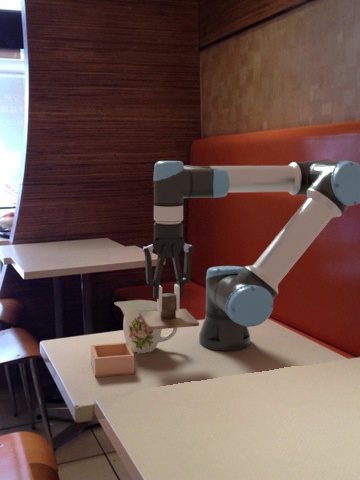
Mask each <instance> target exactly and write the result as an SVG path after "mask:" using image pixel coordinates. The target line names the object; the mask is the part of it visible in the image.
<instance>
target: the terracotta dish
mask: <svg viewBox="0 0 360 480" xmlns="http://www.w3.org/2000/svg"><path fill="white" fill-rule="evenodd" d="M90 363H91V368H92V371H93V374H94V377H95V378H105V377H115V376H116V377H117V376H126V375H135V354H134V352H133V351H132V350H131V348H130V346H129V344H128V342H117V343H115V342H114V343H104V344H90Z"/></svg>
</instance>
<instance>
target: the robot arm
mask: <svg viewBox="0 0 360 480" xmlns="http://www.w3.org/2000/svg"><path fill="white" fill-rule="evenodd" d="M153 168H154V169H153V177H152V178H153V179H152V181H153V221H155V222H154V224H153V240H152V242H151V244H150V245H147V246H142V252H143V254H144V264H145V282H146V283H147V285H148V286H152V288H153V289H152V290H153V291H152V295H153V298H154V299H155V300H156V302H157V310H158V311H159V312H162V294H163V287H162V286H161V285H160V283H161V278H162V274H163V268H164V264H165V262H166V259H167V258H171V259H172V264H173V268H174V275H175V279H176V283H175V284H173V289H174V290H173V294H175V295H176V311H179V309H180V298H183V296H184V287H185V285H186V284H189V283H190V282H191V277H192V275H191V274H192V271H191V270H192V255H193V252H194V250H195V247H194V246H193V245H192V244H188V243H185V240H184V224H183V220H184V199H190V198H191V199H198V198H200V199H201V198H202V199H203V198H204V199H207V198H209V199H210V198H211V199H212V198H213V199H216V198H224V197H226V196H227V195H228V193H282V192H283V193H284V192H285V193H289V195H291V196H305V197H306V199H305V200H304V201H303V203H302V204H301V205H300V206H299V208H298V209H297V210H296V211H295V213H294V214H293V215H292V216H291V218H290V219H289V220H288V221H287V223H286V224H285V225H284V227H283V228H282V229H281V230H280V231H279V233H278V234H277V235H276V236H275V237H274V239H273V240H272V241H271V242H270V244H269V245H268V246H267V247H266V248H265V250H264V251H263V252H262V253H261V254H260V256H259V257H258V259H257V260H256V261H255V262H254V263H253V264H252V265H245V266H237V265H221V266H220V265H219V266H212V267H209V268H208V269H207V271H206V276H205V317H204V319H203V320H204V321H203V322H202V326H201V328H200V331H199V334H198V335H199V337H198V339H199V341H198V342H199V344H200V345H201V346H202V347H205V348H207V349H211V350H215V351H225V352H230V351H232V352H233V351H239V350H243V349H246V348H248V347H249V346H250V345H251V334H250V331H249V327H257V326H259V325H262V324H263V323H265V322H266V321H267V320H268V319H269V318H270V317H271V314H272V312H273V310H274V299H275V298H276V297H277V296H278V294H279V284H280V283H281V282H282V280H283V279H284V278H285V276H286V275H287V274H288V273H289V271H291V269H292V268H293V267H294V265H296V263H297V262H298V260H299V259H300V258H301V257H302V256H303V254H304V253H305V252H306V251H307V249H308V248H309V247H310V246H311V245H312V243H313V242H314V241H315V239H316V238H317V237H318V236H319V234H320V233H321V232H322V231H323V229H324V228H325V227H326V226H327V225H328V223H329V222H330V221H331V220H332V219H333V218H339V217H341V216H342V215H343V214H344V213H345V212H346V210H347V209H348V208H349V206H352V207H353V206H355V205H358V204H360V164H359V163H358V162H355V161H351V160H348V159H345V160H336V159H328V158H327V159H316V160H310V161H294V162H293V161H292V162H290V163H289V164H288V165H189V164H188V165H184V162H183V161H180V160H159V161H156V162H155V163H154V166H153ZM153 250H154V251H155V252H156V254H157V260H156V265H155V269H154V276H153V265H152V260H153V259H152V254H153ZM182 250H183V251H184V260H183V263H184V264H183V273H182V268H181V262H180V256H179V254H180V253H181V251H182Z"/></svg>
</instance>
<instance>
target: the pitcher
mask: <svg viewBox="0 0 360 480" xmlns="http://www.w3.org/2000/svg"><path fill="white" fill-rule="evenodd" d="M114 305H115V306H117V307H119V308H120V310H121V311H122V314H123V323H122V325H123V326H122V328H123V329H122V330H123V335H124V338H125V343H127V342H128V344H129V346H130V348H131V350H132V352H133V353H135V352H137V353H136V354H147V353H146V352H149V353H151V352H150V351H152V352H153V351H155V349H156V347H157V346H158V344H159V343H163V342H168V341H169V340H171V339H172V338H173V337H174V336H175V335H176V333H177V331H178V328H172V331H171V332H169V333H168V334H167V335H164V336H162V332H163V331H162V330H163V329H155V330H149V329H148V327H147V326H146V324H145V323H144V321H143V320H142V318H141V317H140V316H139V312H147V311H158V310H157V301H154V300H146V299H133V300H126V301H125V300H124V301H116V302H114Z"/></svg>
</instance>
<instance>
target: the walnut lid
mask: <svg viewBox="0 0 360 480" xmlns="http://www.w3.org/2000/svg"><path fill="white" fill-rule="evenodd" d="M139 316H140V317H141V318H142V320H143V321H144V323H145V324H146V326H147V327H148V329H149V330H155V329H162V330H167V329H173V328H177V329H178V328H187V327H188V328H189V327H190V328H191V327H199V326H200V322H199V321H198V320H197V319H196V318H195V317H194V316H193V315H192V314H191V312H189V311H188V310H187V309H186V308H179V311H176V295H175V294H174V293H171V292H166V293H162V312H159V311H147V312H139Z"/></svg>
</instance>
